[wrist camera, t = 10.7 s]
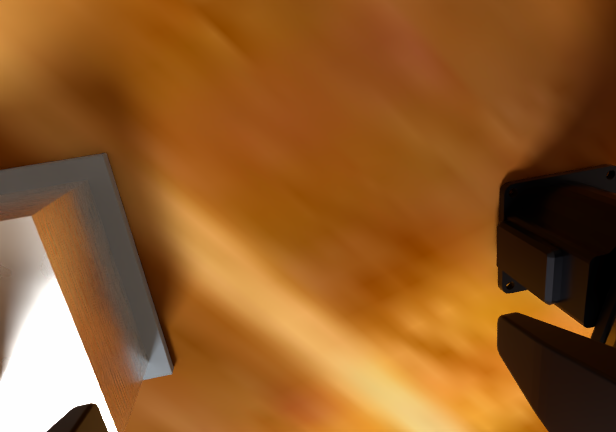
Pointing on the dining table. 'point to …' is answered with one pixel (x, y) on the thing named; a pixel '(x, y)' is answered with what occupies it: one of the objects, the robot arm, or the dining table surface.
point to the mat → (117, 235)
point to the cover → (62, 313)
